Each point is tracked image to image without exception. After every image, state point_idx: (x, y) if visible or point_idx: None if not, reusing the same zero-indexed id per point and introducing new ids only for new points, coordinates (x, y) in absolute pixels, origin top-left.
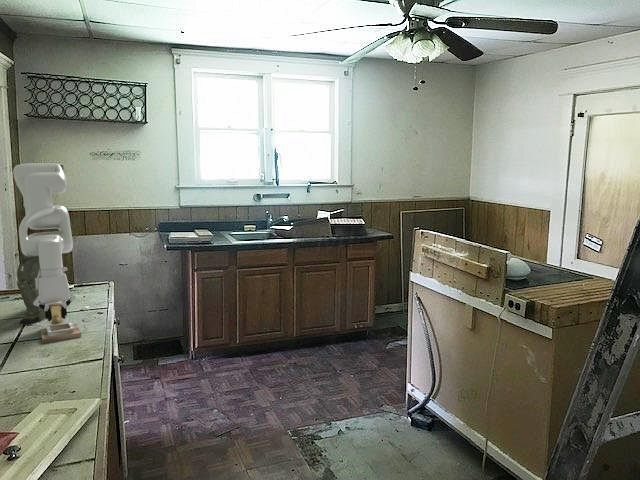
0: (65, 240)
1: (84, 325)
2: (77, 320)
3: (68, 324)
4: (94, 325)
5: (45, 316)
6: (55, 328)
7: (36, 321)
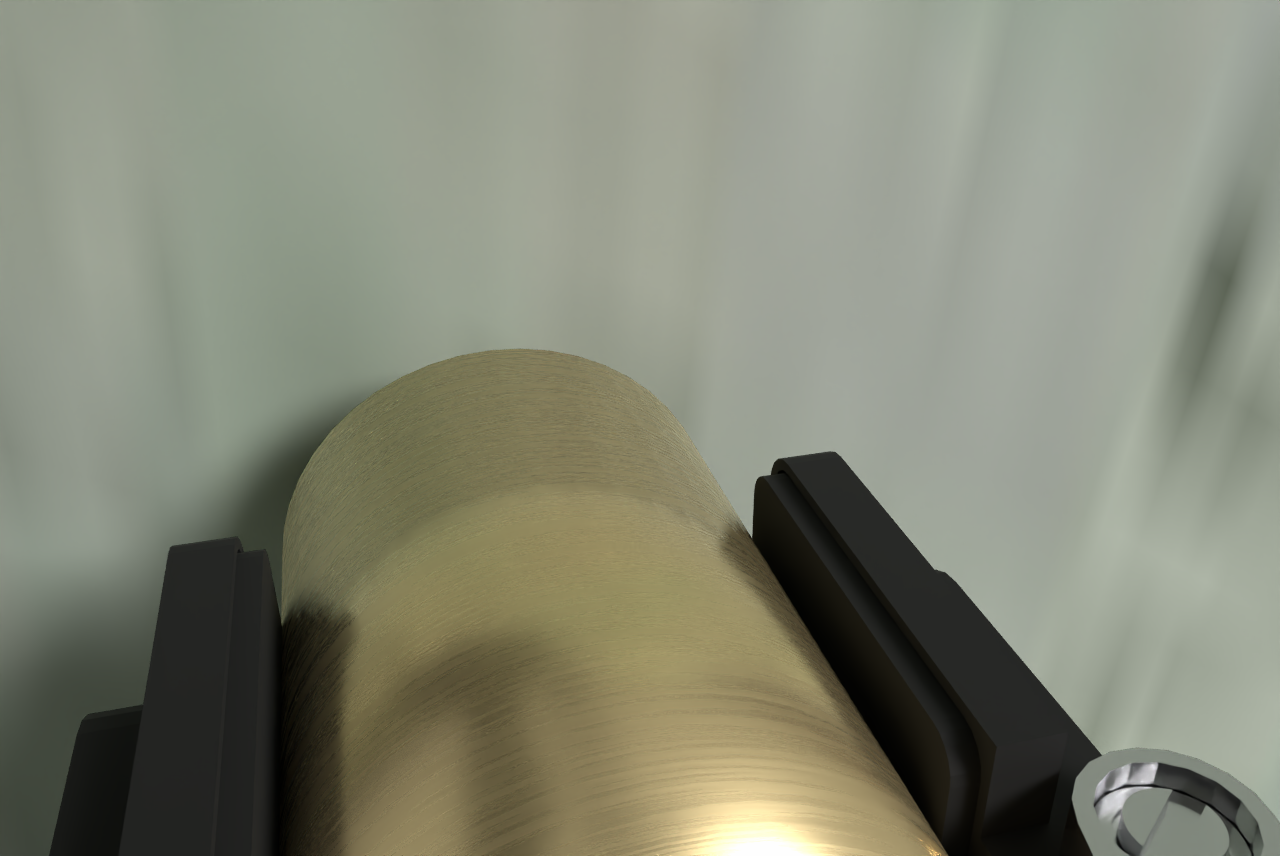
0: None
1: (1094, 706)
2: (1094, 204)
3: None
4: (1246, 771)
5: (84, 772)
6: None
7: None
